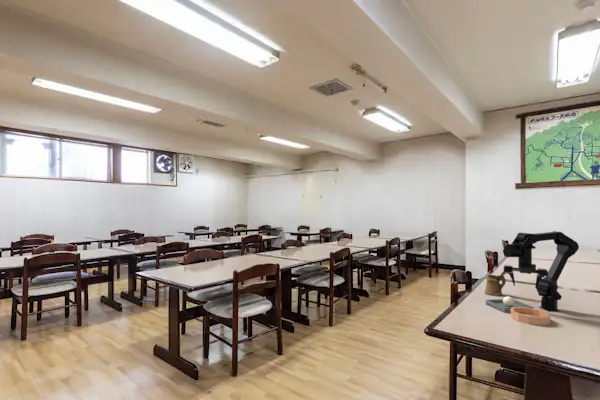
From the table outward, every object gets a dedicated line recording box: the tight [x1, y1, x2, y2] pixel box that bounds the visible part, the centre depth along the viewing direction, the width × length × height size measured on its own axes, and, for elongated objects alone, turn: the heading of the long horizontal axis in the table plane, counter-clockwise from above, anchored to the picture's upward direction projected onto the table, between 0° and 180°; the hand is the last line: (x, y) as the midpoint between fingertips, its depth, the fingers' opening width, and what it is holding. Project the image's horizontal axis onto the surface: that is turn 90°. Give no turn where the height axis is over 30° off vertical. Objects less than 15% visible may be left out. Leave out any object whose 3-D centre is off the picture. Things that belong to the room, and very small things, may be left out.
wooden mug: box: [484, 270, 507, 297], centre depth 196 cm, size 9×14×18 cm, turn 38°
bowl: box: [509, 307, 551, 326], centre depth 154 cm, size 15×15×4 cm
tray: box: [485, 298, 534, 314], centre depth 171 cm, size 16×14×2 cm
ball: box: [503, 296, 515, 306], centre depth 171 cm, size 5×5×5 cm
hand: (525, 287), depth 168 cm, fingers open, 9 cm apart
